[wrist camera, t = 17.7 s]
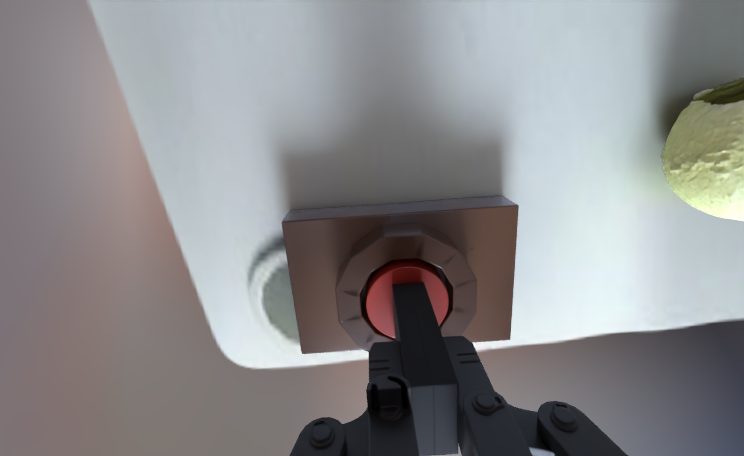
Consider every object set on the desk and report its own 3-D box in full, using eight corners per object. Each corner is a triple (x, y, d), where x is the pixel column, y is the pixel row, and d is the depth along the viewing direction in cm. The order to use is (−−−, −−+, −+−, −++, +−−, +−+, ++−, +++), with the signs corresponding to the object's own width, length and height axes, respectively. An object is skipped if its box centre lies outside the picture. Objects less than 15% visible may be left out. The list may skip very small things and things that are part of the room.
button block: (307, 332, 22) (295, 376, 19) (289, 210, 20) (272, 233, 16) (497, 319, 22) (524, 361, 19) (503, 195, 20) (535, 214, 16)
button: (368, 322, 19) (368, 342, 18) (363, 255, 18) (362, 269, 16) (441, 318, 19) (448, 337, 18) (441, 249, 18) (448, 263, 16)
